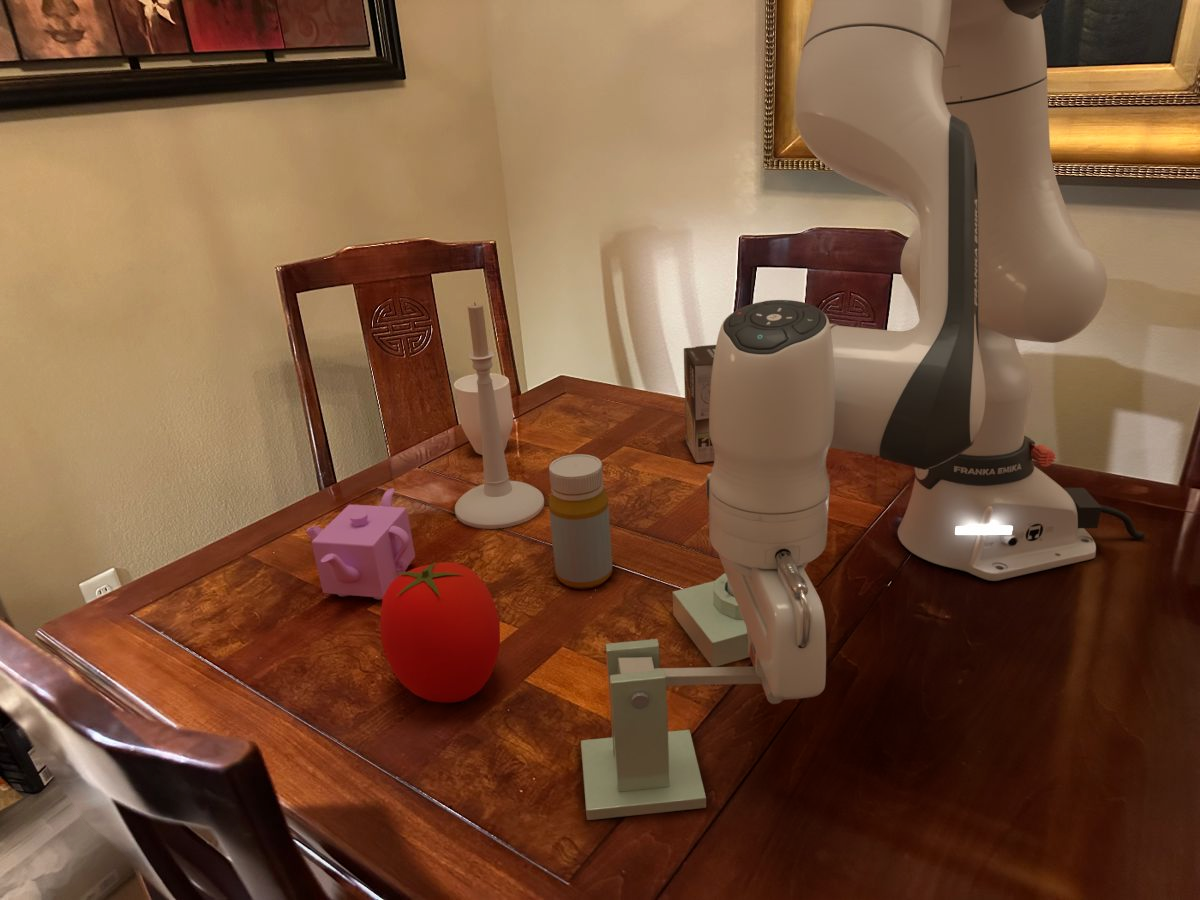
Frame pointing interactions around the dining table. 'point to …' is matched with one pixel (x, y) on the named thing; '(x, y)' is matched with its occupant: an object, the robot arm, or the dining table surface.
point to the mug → (470, 407)
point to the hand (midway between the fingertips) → (762, 666)
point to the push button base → (712, 621)
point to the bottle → (580, 521)
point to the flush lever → (698, 675)
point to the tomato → (440, 631)
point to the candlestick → (493, 453)
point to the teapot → (363, 549)
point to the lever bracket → (639, 746)
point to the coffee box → (698, 400)
